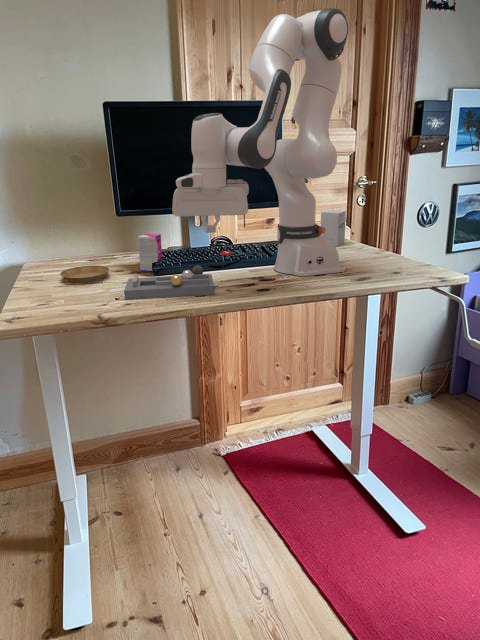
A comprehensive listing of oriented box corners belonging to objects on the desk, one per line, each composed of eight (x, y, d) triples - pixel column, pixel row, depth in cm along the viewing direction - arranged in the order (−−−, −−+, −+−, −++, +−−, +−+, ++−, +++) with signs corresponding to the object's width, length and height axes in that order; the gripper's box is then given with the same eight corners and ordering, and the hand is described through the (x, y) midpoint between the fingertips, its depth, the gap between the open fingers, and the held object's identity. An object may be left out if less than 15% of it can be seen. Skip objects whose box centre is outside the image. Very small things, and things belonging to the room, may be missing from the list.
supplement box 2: (337, 247, 187) (339, 213, 183) (319, 245, 191) (320, 211, 187) (345, 243, 193) (346, 210, 189) (327, 241, 197) (328, 209, 192)
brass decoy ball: (182, 284, 138) (181, 272, 137) (182, 287, 135) (181, 276, 134) (171, 284, 138) (170, 273, 136) (170, 288, 135) (169, 276, 134)
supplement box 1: (157, 272, 160) (154, 237, 156) (140, 272, 161) (136, 236, 157) (163, 268, 165) (161, 233, 161) (146, 267, 166) (143, 233, 162)
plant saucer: (62, 275, 161) (61, 267, 160) (110, 271, 164) (109, 263, 163) (59, 288, 147) (57, 279, 146) (110, 283, 151) (109, 275, 150)
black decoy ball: (203, 274, 147) (202, 263, 146) (203, 277, 144) (203, 266, 143) (192, 275, 146) (191, 264, 145) (192, 278, 143) (191, 267, 142)
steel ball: (193, 279, 142) (192, 268, 141) (193, 282, 139) (192, 271, 138) (182, 279, 142) (181, 268, 141) (182, 283, 139) (181, 271, 138)
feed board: (211, 282, 148) (211, 269, 146) (214, 294, 137) (213, 280, 135) (129, 286, 146) (128, 273, 144) (124, 299, 134) (123, 285, 133)
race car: (219, 270, 162) (219, 257, 161) (206, 267, 165) (206, 256, 164) (242, 261, 172) (242, 249, 171) (229, 259, 175) (229, 247, 174)
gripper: (247, 178, 136) (247, 229, 140) (171, 179, 134) (173, 231, 138) (250, 180, 130) (250, 233, 134) (170, 181, 128) (173, 235, 132)
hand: (210, 232), depth 136 cm, fingers closed
